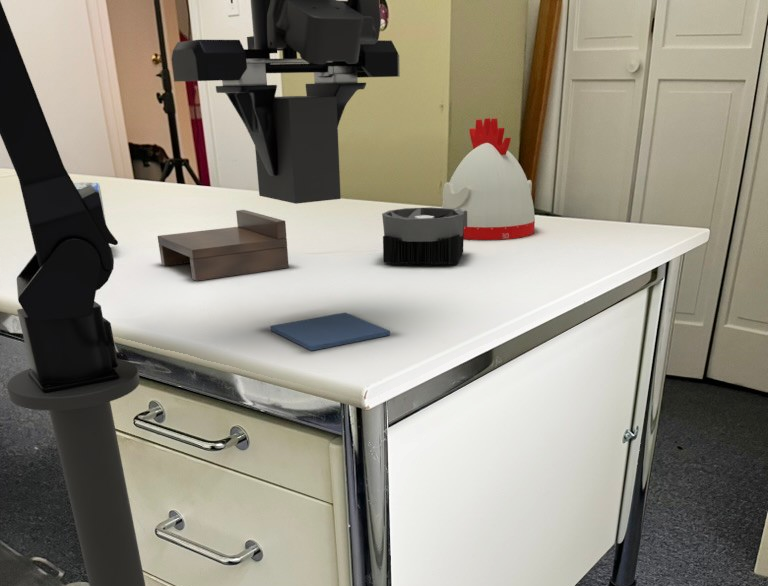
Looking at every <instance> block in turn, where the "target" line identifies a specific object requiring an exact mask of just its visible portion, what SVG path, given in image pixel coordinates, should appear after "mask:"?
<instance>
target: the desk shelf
mask: <svg viewBox="0 0 768 586" xmlns="http://www.w3.org/2000/svg"><path fill="white" fill-rule="evenodd" d="M235 214H236V223H237V226H233V227H223V228H214V229H205V230H198V231H189V232H179V233H169V234H162V235H157V242H158V250H159V257H160V264H161V265H162V266H164V267H168V266H176V265H183V264H189V263H190V270H191V277H192V278H191V279H192V280H193V281H195V282H200V281H205V280H207V281H208V280H213V279H219V278H227V277H234V276H240V275H247V274H255V273H263V272H269V271H276V270H282V269H283V270H284V269H289V267H290V266H289V253H288V238H287V224H286V220H285V219H280V218H276V217H273V216H268V215H266V214H261V213H258V212H254V211H250V210H247V209H238V210H235Z"/></svg>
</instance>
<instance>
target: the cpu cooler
mask: <svg viewBox="0 0 768 586" xmlns="http://www.w3.org/2000/svg"><path fill="white" fill-rule="evenodd" d="M381 216H382V226H383V236H382V258H383V260H382V261H383V262H382V263H388V264H389V265H403V264H407V265H431V266H433V265H435V266H436V265H439V266H440V265H442V266H443V265H449V266H450V265H451V264H459V261H460V259H461V258H462V255H463V253H464V243H465V242H464V240H465V239H464V227H467V211H465V210H461V209H448V208H442V207H434V206H433V207H429V206H428V207H407V208H405V207H403V208H398V209H392V210H391V209H390V210H387V211H385V212H383V213H382V212H381Z"/></svg>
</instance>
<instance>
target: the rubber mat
mask: <svg viewBox="0 0 768 586" xmlns="http://www.w3.org/2000/svg"><path fill="white" fill-rule="evenodd" d="M269 328H270V329H269V330H270V331H272V332H273V333H276V334H277V335H279V336H281V337H283V338H285V339H288V340H289V341H291V342H293V343H295V344H297V345H298V346H301V347H303V348H304V349H307V350H309V351H310V352H311V351H317V350H321V349H329V348H332V347H338V346H342V345H346V344H347V345H348V344H352V343H357V342H362V341H367V340H372V339H376V338H381V337H387V336H391V330H389V329H387V328H384V327H381V326H379V325H377V324H375V323H373V322H370V321H367V320H364V319H362V318H360V317H358V316H355V315H352V314H350V313H347V312H340V313H334V314H329V315H323V316H319V317H312V318H311V317H310V318H306V319H301V320H296V321H289V322H283V323H279V324H274V325H270V326H269Z"/></svg>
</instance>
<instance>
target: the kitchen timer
mask: <svg viewBox="0 0 768 586" xmlns="http://www.w3.org/2000/svg"><path fill="white" fill-rule="evenodd" d="M498 125H499V124H498V118H495V117H494V118H490V117H489V118H487V117H485V118H484V120H483V119H480V118H479V119H475V128H469V129H468V130H469V137H470V141H471V146H472V150H471V151H470V152H468V153H467V154H466V155H465V157H463V159H462V160H461V162H459V164H458V166H457V167H456V169H455V170H454V172H453V174H452V176H451V178H450V180H449V182H448V181H447V182H445V183H444V184H443V187H442V205H441V208H448V209H461V210H465V211H467V227H464V240H473V241H475V240H476V241H494V240H495V241H496V240H497V241H498V240H499V241H500V240H511V239H512V240H513V239H519V238H525V237H528V236H531V235H533V234H534V233H535V223H536V219H535V218H536V217H535V215H536V214H535V207H534V202H533V197H532V191H533V183H532V180H531V179H527V175H526V173H525V172H524V169H523V168H522V166H521V164H520V163H519V161H518V160H517V159H516V157H515V156H514V155H513V153H511V152H510V150H509V147H510V143H511V139H512V136H511V137H510V136H509V137H505V138H504V135H505V127H499V126H498Z"/></svg>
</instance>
